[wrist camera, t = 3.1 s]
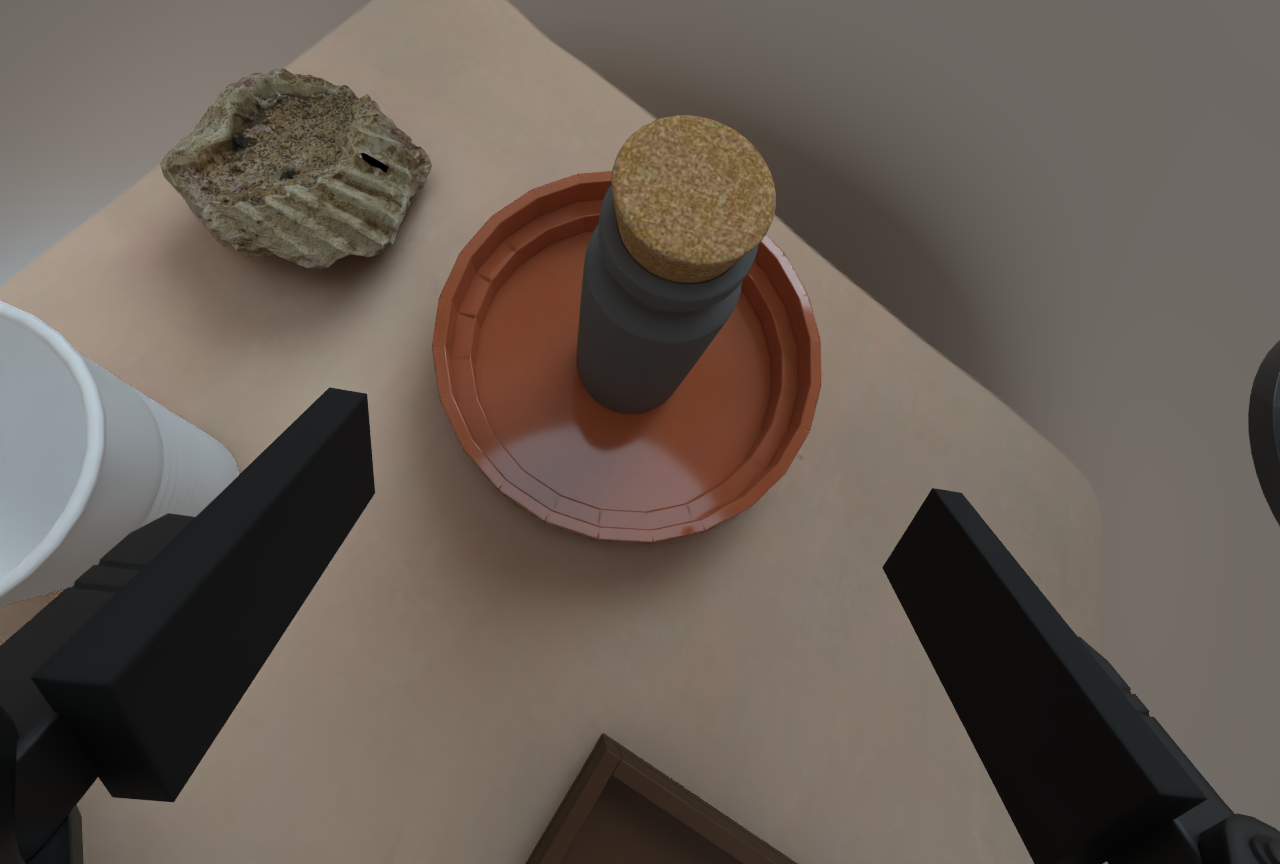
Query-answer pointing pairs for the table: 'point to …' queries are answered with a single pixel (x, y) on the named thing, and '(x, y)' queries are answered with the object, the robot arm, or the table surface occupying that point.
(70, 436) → the cup
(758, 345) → the terracotta bowl
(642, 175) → the bottle
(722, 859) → the tray
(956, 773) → the table surface
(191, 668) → the robot arm
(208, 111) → the seashell
